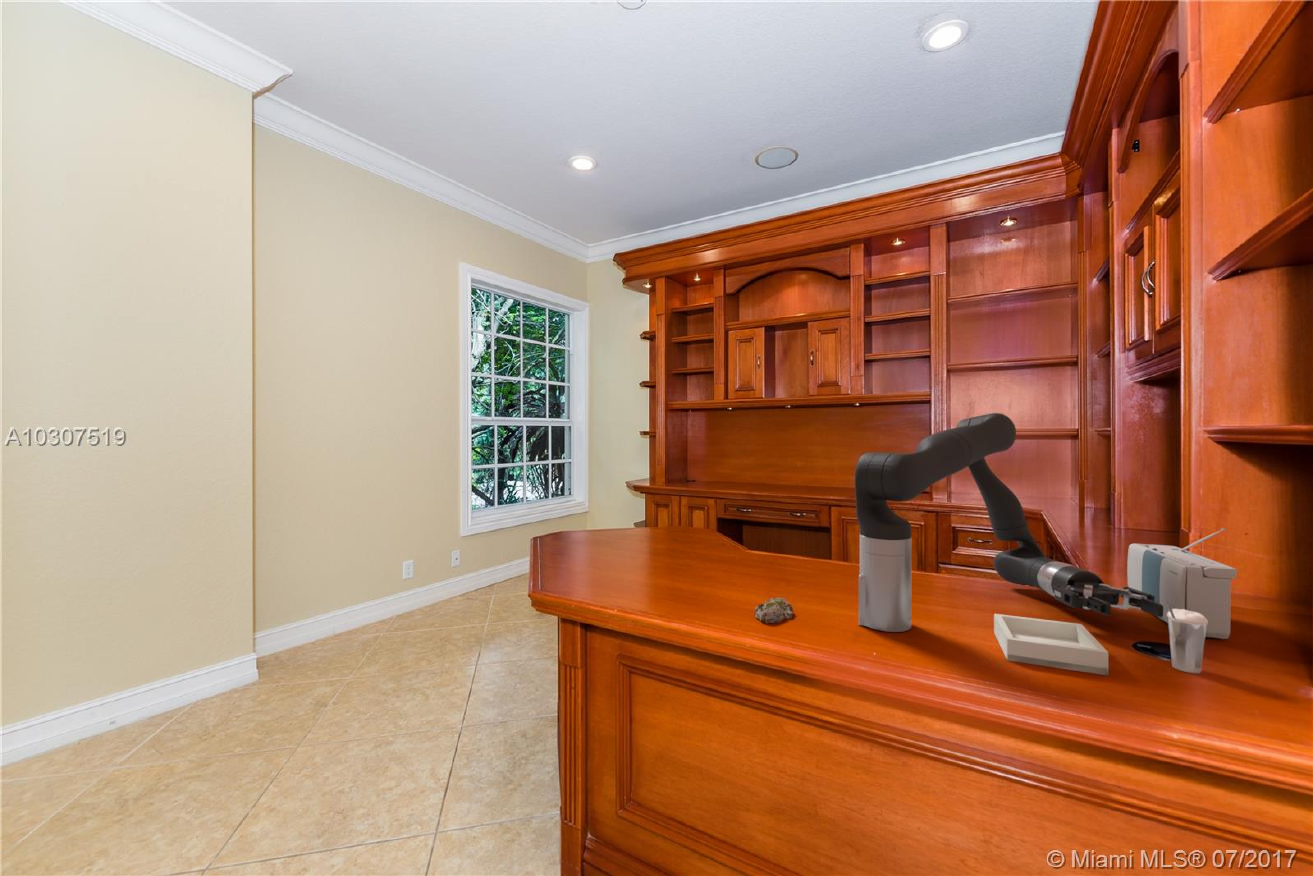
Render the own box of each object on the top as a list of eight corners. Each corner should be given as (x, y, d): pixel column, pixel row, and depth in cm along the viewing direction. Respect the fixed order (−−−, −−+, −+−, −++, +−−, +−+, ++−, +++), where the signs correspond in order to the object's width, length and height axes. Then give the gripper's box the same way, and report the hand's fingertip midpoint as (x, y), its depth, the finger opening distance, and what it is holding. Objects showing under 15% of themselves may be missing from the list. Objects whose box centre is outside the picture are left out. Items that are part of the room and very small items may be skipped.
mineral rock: (759, 594, 114) (795, 589, 110) (765, 614, 114) (801, 610, 110) (742, 611, 105) (780, 606, 101) (748, 633, 104) (786, 629, 101)
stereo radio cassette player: (1125, 602, 114) (1125, 510, 114) (1173, 606, 111) (1174, 512, 111) (1179, 637, 95) (1180, 527, 95) (1240, 644, 92) (1241, 530, 92)
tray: (1007, 660, 86) (1007, 639, 86) (994, 632, 98) (994, 613, 98) (1108, 675, 80) (1108, 652, 80) (1081, 644, 92) (1081, 624, 92)
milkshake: (1153, 663, 84) (1153, 601, 84) (1183, 662, 85) (1184, 600, 85) (1184, 676, 80) (1184, 611, 80) (1216, 675, 80) (1216, 610, 80)
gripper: (1032, 565, 108) (1091, 588, 92) (1106, 566, 107) (1179, 590, 91) (1032, 601, 108) (1091, 631, 92) (1106, 602, 107) (1178, 633, 91)
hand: (1134, 610), depth 92 cm, fingers open, 8 cm apart
